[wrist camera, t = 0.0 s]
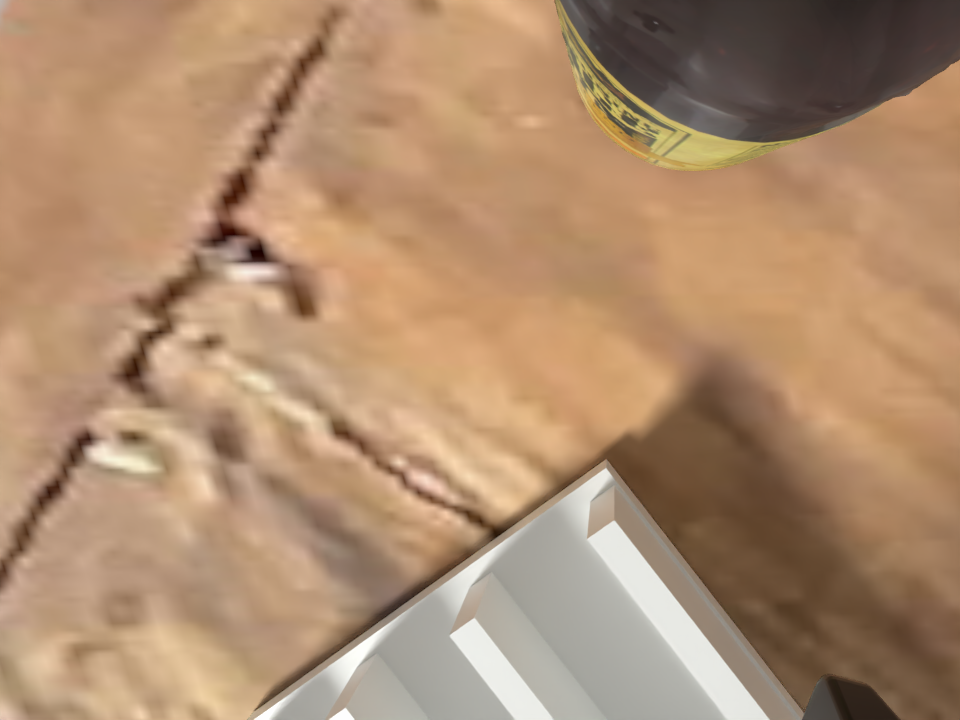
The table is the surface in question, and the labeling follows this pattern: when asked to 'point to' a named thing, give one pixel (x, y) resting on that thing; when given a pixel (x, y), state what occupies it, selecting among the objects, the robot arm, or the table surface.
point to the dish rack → (552, 632)
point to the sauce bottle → (746, 69)
